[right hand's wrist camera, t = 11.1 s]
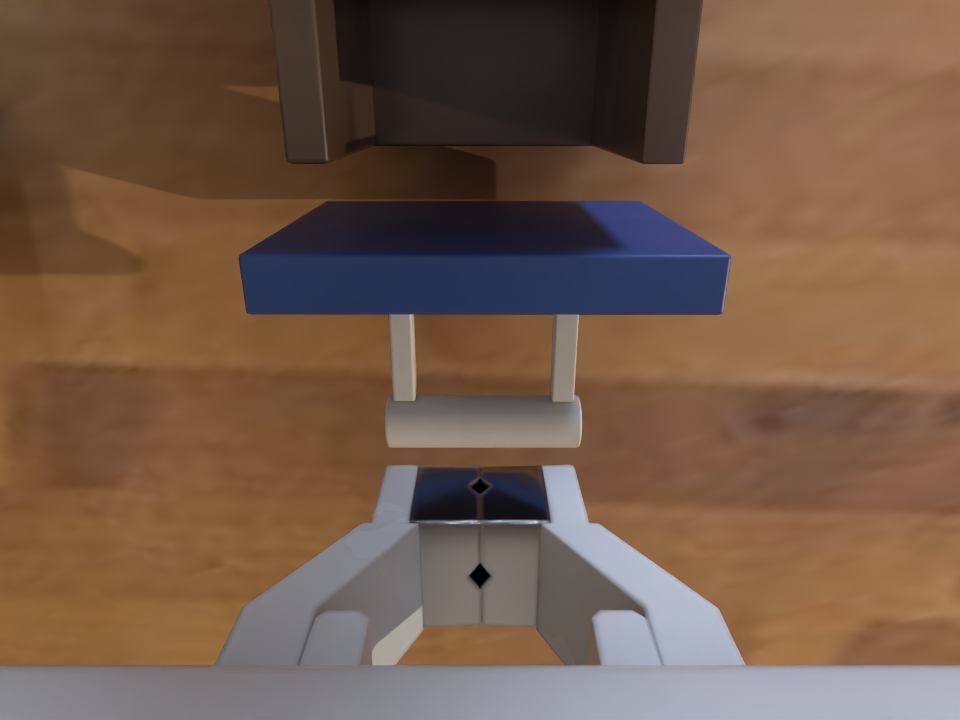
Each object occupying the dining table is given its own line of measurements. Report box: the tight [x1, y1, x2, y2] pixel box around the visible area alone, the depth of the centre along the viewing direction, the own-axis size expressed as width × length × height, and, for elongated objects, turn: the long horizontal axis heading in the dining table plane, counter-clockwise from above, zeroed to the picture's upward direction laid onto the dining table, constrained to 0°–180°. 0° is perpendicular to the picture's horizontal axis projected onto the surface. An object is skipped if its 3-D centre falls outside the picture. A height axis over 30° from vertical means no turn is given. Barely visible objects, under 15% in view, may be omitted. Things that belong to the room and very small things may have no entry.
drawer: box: [239, 0, 731, 448], centre depth 14 cm, size 17×9×7 cm, turn 0°
